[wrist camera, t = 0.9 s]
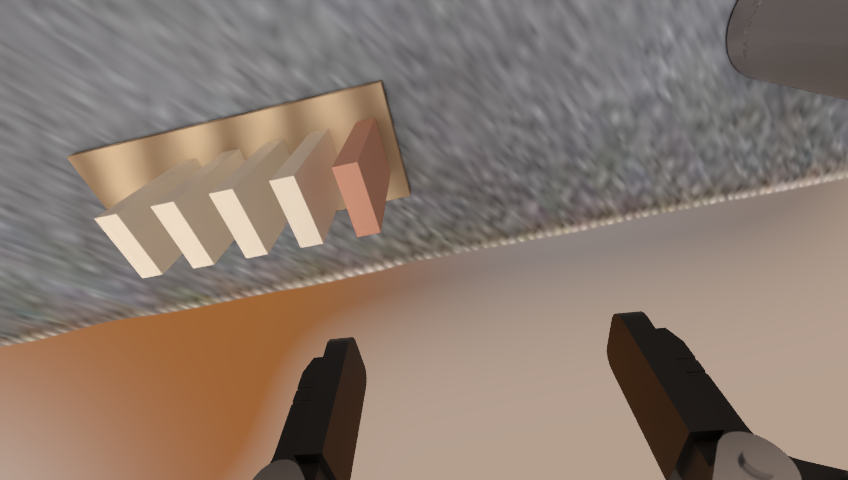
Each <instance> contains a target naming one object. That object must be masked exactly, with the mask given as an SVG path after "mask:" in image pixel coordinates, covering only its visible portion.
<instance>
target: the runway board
mask: <svg viewBox="0 0 848 480" xmlns="http://www.w3.org/2000/svg"><path fill="white" fill-rule="evenodd" d="M372 118H375V120H376V124H377V127H378V131H379V135H380V138H381V142H382V145H383V149H384V152H385V156H386V159H387V163H388V166H389V170H390V173H391V175H390V181H389V186H388V192H387V198H386V201H388V200H393V199H398V198H403V197H408V196H410V188H409V184H408V180H407V176H406V172H405V168H404V164H403V161H402V157H401V153H400V149H399V145H398V141H397V137H396V134H395V130H394V126H393V122H392V118H391V114H390V111H389V107H388V103H387V99H386V95H385V91H384V87H383V84H382V80H380V81H376V82H372V83H368V84H364V85H360V86H355V87H351V88H347V89H343V90H339V91H334V92H330V93H326V94H322V95H318V96H313V97H309V98H305V99H301V100H297V101H292V102H288V103H284V104H280V105H276V106H271V107H267V108H263V109H259V110H255V111H250V112H246V113H242V114H238V115H234V116H229V117H225V118H221V119H217V120H213V121H208V122H204V123H200V124H196V125H192V126H187V127H183V128H179V129H175V130H171V131H166V132H162V133H158V134H154V135H150V136H145V137H141V138H137V139H133V140H129V141H124V142H120V143H116V144H112V145H108V146H104V147H99V148H95V149H91V150H87V151H83V152H78V153H75V154H73V155H70V156H68V157H67V158H68V160H69V161H70V162H71V163H72V165H73V166H74V167H75V169H76V170H77V171H78V172H79V174H80V175H81V176H82V178H83V179H84V180H85V182H86V183H87V184H88V185H89V187H90V188H91V189H92V191H93V192H94V193H95V194H96V196H97V197H98V198H99V200H100V201H101V202H102V203H103V205H104V206H105V207H106V209H107V210H108V209H110V208H111V207H113V206H114V205H116V204H117V203H119V202H120V201H122V200H123V199H125V198H126V197H128V196H129V195H131V194H132V193H134V192H135V191H137V190H138V189H140V188H141V187H143V186H144V185H146V184H148V183H149V182H151V181H152V180H154V179H155V178H157V177H158V176H160V175H161V174H163V173H164V172H166V171H167V170H169V169H170V168H172V167H173V166H175V165H176V164H178V163H179V162H183V161H187V160H192V159H196V158H197V160H198V161H199V163H200V165H201V167H204V166H205V165H206V164H208V163H209V162H210V161H212V160H213V159H214V158H216V157H217V156H218V155H220V154H221V153H222V152H227V151H231V150H236V149H240V151H241V153H242V155H243V157H244V159H245V161H246V160H247V159H248V158H249V157H250V156H251V155H252V154H254V153H255V152H256V151H257V150H258V149H259V148H260V147H261V146H262V145H264V144H265V143H266V142H271V141H275V140H280V139H284V141H285V144H286V146H287V148H288V151H289V153H290V155H291V154H292V153H293V152H294V151H295V150H296V149H297V147H298V146H299V145H300V144H301V143H302V142H303V140H304V139H305V138H306V137H307V136H308V135H309V133H310V132H315V131H319V130H323V129H329V131H330V134H331V137H332V140H333V143H334V146H335V148H336V151H337V154H338V155H339V153H340V151H341V149H342V147H343V145H344V144H345V142H346V140H347V138H348V136H349V134H350V132H351V131H352V129H353V127H354V125H355V123H356V122H359V121H363V120H367V119H372ZM343 209H347V207H346V205H345V202H344V199H343V197H342V198H341V201H340V203H339V206H338V208H337V211H338V210H343Z"/></svg>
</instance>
